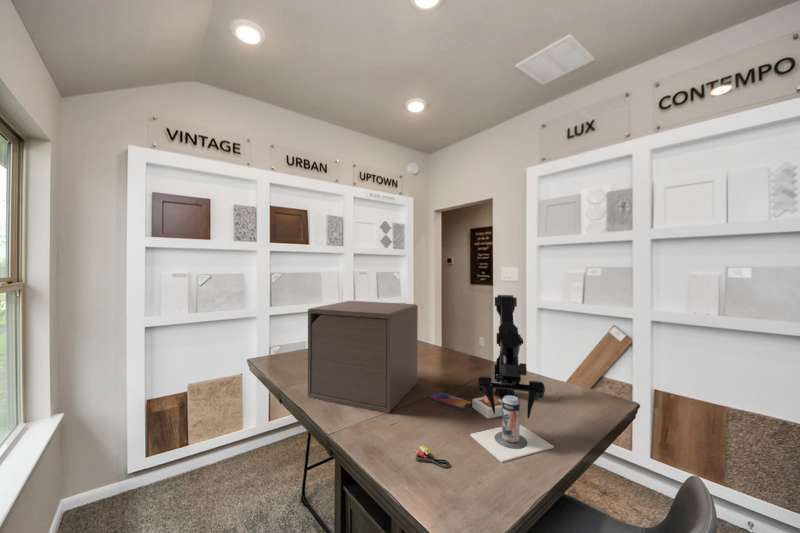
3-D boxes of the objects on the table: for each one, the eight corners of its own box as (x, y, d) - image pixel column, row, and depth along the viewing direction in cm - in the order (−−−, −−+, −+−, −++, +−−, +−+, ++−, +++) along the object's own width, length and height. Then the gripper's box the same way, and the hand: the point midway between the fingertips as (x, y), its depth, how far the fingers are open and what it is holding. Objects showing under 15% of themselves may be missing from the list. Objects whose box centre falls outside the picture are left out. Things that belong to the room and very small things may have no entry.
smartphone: (439, 393, 127) (439, 391, 127) (473, 404, 117) (473, 401, 117) (428, 399, 121) (428, 396, 121) (462, 411, 111) (462, 408, 111)
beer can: (498, 437, 93) (498, 396, 93) (508, 433, 95) (509, 393, 95) (512, 445, 89) (512, 402, 89) (523, 440, 91) (523, 398, 91)
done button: (492, 399, 114) (492, 394, 114) (501, 405, 110) (501, 399, 110) (480, 401, 112) (480, 396, 112) (489, 407, 108) (489, 401, 108)
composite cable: (451, 466, 81) (451, 456, 81) (440, 475, 77) (441, 465, 77) (421, 451, 87) (421, 442, 87) (410, 458, 84) (410, 449, 84)
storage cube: (307, 397, 121) (307, 307, 121) (347, 374, 148) (347, 300, 148) (389, 414, 108) (390, 313, 108) (417, 384, 135) (417, 304, 135)
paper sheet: (517, 424, 102) (517, 422, 102) (553, 447, 89) (553, 445, 89) (470, 435, 95) (470, 433, 95) (501, 462, 82) (501, 460, 82)
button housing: (492, 403, 117) (492, 395, 117) (509, 414, 109) (509, 405, 109) (472, 407, 114) (472, 399, 114) (488, 418, 105) (488, 409, 105)
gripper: (478, 349, 98) (476, 399, 87) (544, 354, 93) (550, 408, 82) (479, 367, 106) (477, 415, 95) (539, 372, 100) (545, 424, 90)
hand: (511, 415), depth 90 cm, fingers open, 9 cm apart
